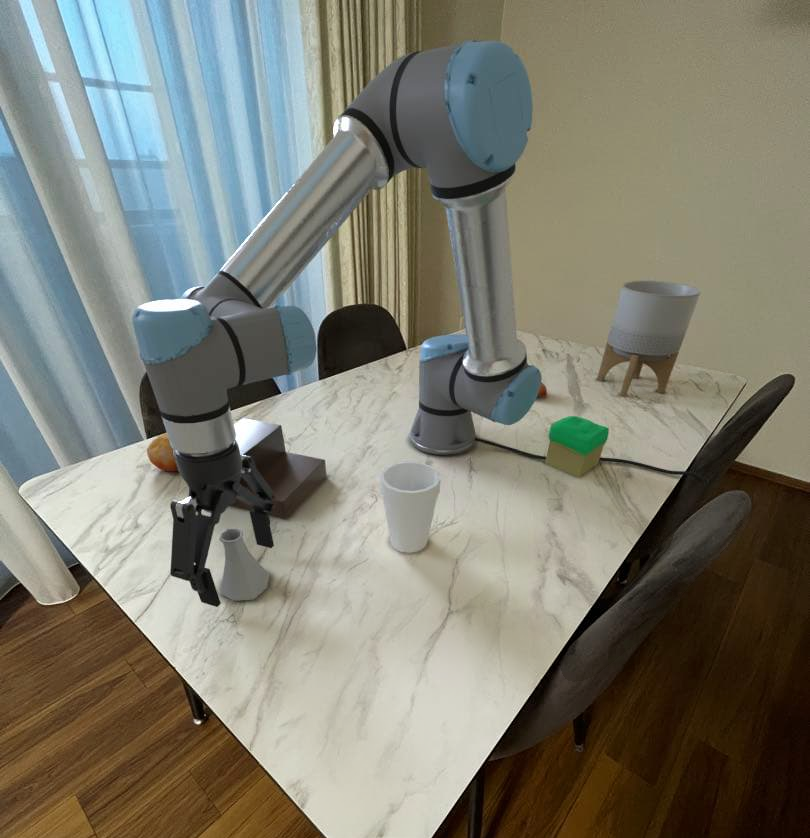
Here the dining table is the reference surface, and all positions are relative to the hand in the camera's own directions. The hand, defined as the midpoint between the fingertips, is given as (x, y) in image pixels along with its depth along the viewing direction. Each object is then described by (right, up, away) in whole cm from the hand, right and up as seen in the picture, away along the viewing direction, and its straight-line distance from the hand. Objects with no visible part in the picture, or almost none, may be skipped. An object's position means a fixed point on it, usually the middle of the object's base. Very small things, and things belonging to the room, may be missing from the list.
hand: (240, 572), depth 70 cm
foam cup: (+25, +4, +11) cm, 28 cm away
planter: (+91, +50, +68) cm, 124 cm away
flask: (0, -2, +2) cm, 3 cm away
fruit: (-24, +20, +29) cm, 43 cm away
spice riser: (-3, +15, +23) cm, 28 cm away
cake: (+61, +22, +33) cm, 72 cm away
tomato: (+60, +45, +62) cm, 97 cm away
